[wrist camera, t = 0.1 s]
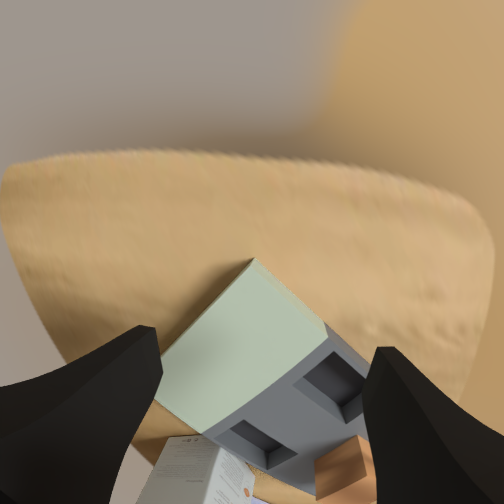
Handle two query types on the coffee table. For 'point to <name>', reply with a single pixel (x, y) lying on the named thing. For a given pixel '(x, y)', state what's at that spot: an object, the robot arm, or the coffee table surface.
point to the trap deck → (266, 379)
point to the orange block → (346, 474)
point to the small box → (197, 475)
